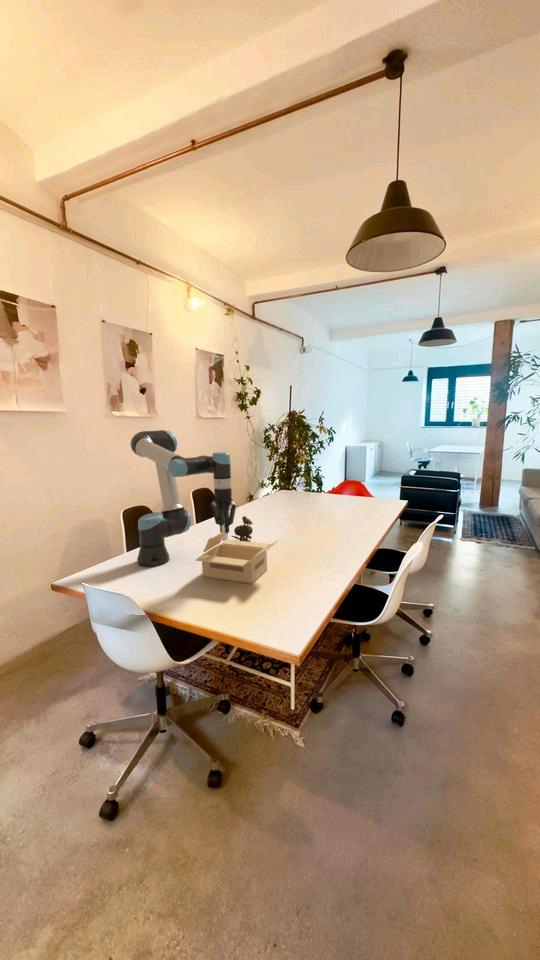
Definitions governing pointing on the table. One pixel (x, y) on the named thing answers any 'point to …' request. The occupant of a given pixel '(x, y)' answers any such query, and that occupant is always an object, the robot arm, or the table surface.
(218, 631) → the table surface
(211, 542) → the flap
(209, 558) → the carton
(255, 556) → the flap
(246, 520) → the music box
